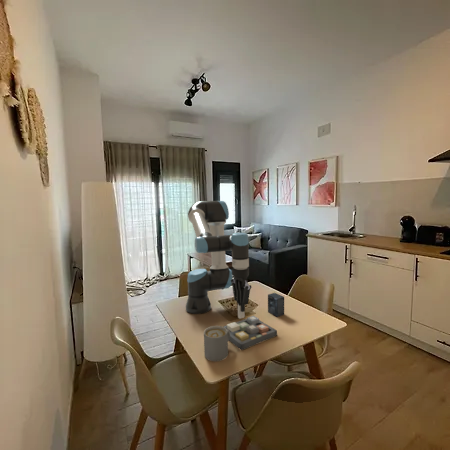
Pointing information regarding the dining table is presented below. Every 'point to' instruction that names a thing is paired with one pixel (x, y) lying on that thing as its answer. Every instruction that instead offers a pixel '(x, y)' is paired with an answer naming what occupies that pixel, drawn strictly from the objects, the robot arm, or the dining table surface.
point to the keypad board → (251, 336)
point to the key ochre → (242, 336)
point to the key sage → (243, 326)
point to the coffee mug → (216, 343)
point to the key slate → (253, 320)
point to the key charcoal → (252, 329)
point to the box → (276, 304)
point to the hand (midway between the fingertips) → (241, 317)
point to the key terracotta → (263, 328)
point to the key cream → (233, 327)
